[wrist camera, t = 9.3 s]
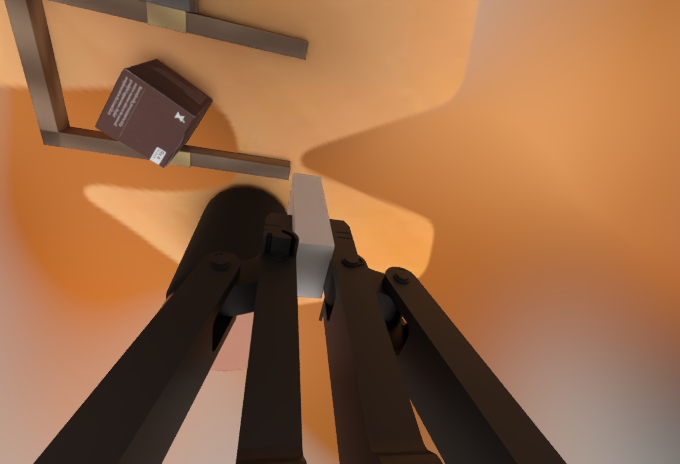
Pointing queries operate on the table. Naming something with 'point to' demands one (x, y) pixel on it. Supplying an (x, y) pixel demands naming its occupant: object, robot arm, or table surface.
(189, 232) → the table surface
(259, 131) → the table surface
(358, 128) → the table surface
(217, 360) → the coffee jar
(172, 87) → the box
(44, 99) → the brown angular bar frame
